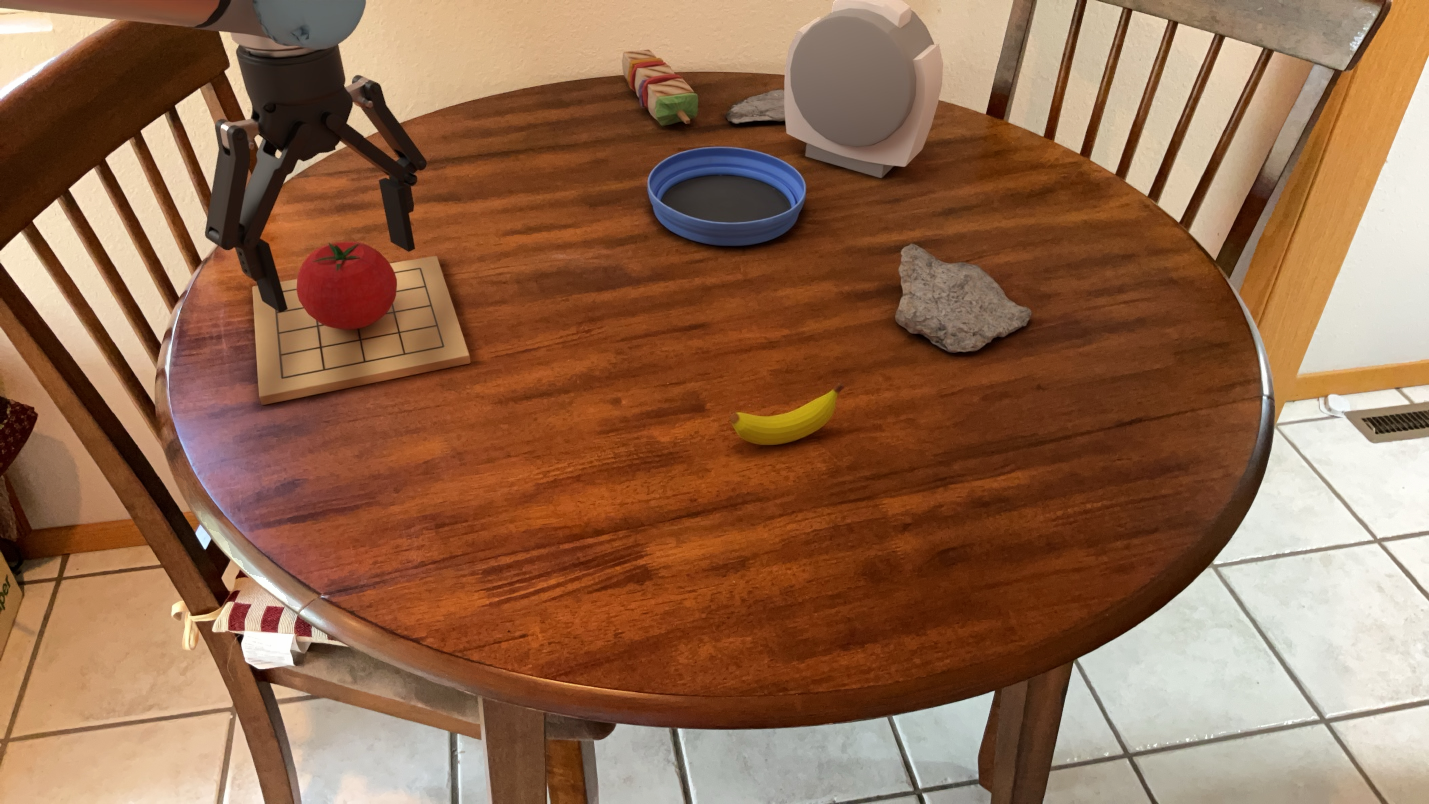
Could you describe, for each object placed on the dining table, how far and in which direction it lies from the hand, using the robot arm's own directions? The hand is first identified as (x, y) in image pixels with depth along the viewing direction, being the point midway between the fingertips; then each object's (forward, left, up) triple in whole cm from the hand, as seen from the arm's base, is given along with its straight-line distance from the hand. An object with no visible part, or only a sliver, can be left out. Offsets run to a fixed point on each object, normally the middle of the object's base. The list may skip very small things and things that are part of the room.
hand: (342, 274), depth 89 cm
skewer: (+44, +39, -6) cm, 59 cm away
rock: (+56, -16, -6) cm, 59 cm away
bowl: (+42, +10, -6) cm, 44 cm away
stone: (+62, +33, -6) cm, 71 cm away
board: (0, 0, -6) cm, 6 cm away
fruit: (+32, -28, -6) cm, 43 cm away
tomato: (0, 0, -5) cm, 5 cm away
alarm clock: (+62, +17, -6) cm, 65 cm away
